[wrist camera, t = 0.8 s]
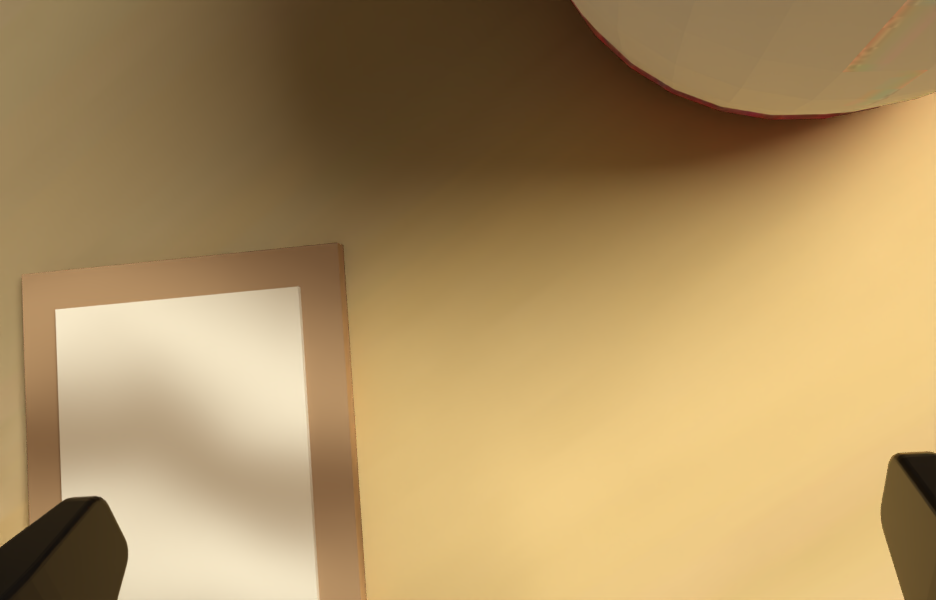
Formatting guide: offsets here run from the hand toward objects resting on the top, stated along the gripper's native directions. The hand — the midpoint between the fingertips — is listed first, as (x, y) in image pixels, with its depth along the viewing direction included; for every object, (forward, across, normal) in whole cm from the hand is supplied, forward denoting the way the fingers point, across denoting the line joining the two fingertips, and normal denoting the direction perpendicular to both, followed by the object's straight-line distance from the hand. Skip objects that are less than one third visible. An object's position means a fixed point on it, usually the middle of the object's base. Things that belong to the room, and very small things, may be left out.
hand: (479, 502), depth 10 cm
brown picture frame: (+11, +10, +9) cm, 18 cm away
